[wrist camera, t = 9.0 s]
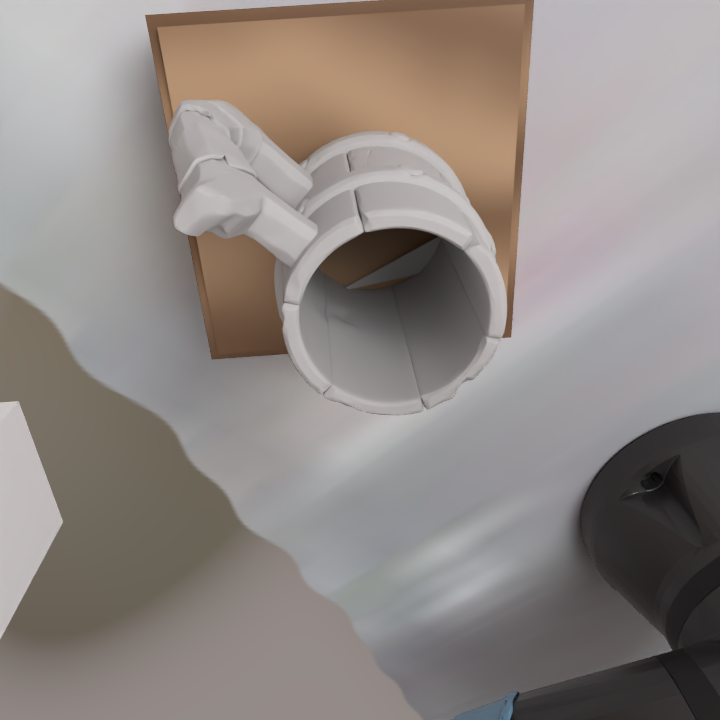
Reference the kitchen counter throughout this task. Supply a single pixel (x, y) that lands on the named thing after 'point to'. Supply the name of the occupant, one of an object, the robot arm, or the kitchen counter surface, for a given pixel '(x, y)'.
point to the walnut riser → (353, 123)
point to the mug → (331, 230)
